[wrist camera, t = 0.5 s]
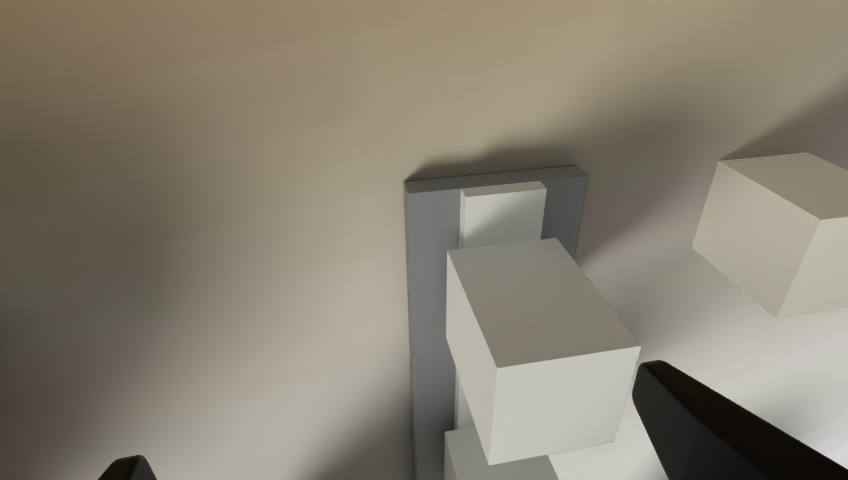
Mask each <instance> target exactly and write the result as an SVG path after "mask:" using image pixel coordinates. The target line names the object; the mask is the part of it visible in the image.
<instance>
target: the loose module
mask: <svg viewBox="0 0 848 480" xmlns="http://www.w3.org/2000/svg"><path fill="white" fill-rule="evenodd" d="M692 248H693V249H694V250H695V251H696V252H698V253H699V254H700V255H701V256H702V257H704V258H705V259H706V260H707V261H708V262H709V263H711V264H712V265H713V266H714V267H715V268H717V269H718V270H719V271H720V272H721V273H723V274H724V275H725V276H726V277H727V278H728V279H730V280H731V281H732V282H733V283H734V284H736V285H737V286H738V287H739V288H740V289H742V290H743V291H744V292H745V293H746V294H747V295H749V296H750V297H751V298H752V299H753V300H755V301H756V302H757V303H758V304H759V305H761V306H762V307H763V308H764V309H765V310H766V311H768V312H769V313H770V314H771V315H772V316H774V317H775V318H776V319H778V318H784V317H791V316H797V315H804V314H810V313H817V312H823V311H830V310H836V309H843V308H848V170H845V169H843V168H841V167H839V166H837V165H835V164H832V163H830V162H828V161H826V160H824V159H821V158H819V157H817V156H815V155H813V154H810V153H808V152H805V153H795V154H785V155H774V156H764V157H754V158H743V159H733V160H723V161H718V164H717V168H716V171H715V174H714V177H713V180H712V184H711V187H710V190H709V193H708V197H707V200H706V203H705V206H704V209H703V213H702V216H701V219H700V222H699V225H698V229H697V232H696V235H695V238H694V241H693V245H692Z"/></svg>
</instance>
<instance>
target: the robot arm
mask: <svg viewBox="0 0 848 480" xmlns="http://www.w3.org/2000/svg"><path fill="white" fill-rule="evenodd" d="M632 398H633V402H634V405H635V407H636V409H637V412H638V414H639V416H640V418H641V420H642V423H643V425H644V427H645V429H646V431H647V434H648V436H649V438H650V440H651V442H652V444H653V447H654V449H655V451H656V453H657V455H658V458H659V460H660V462H661V464H662V466H663V468H664V470H665V472H666V475H667V477H668V479H669V480H848V469H846V468H844V467H843V466H841V465H839V464H838V463H836V462H834V461H833V460H831V459H829V458H828V457H826V456H824V455H822V454H821V453H819V452H817V451H816V450H814V449H812V448H811V447H809V446H807V445H806V444H804V443H802V442H800V441H799V440H797V439H795V438H794V437H792V436H790V435H789V434H787V433H785V432H784V431H782V430H780V429H778V428H777V427H775V426H773V425H772V424H770V423H768V422H767V421H765V420H763V419H762V418H760V417H758V416H756V415H755V414H753V413H751V412H750V411H748V410H746V409H745V408H743V407H741V406H740V405H738V404H736V403H734V402H733V401H731V400H729V399H728V398H726V397H724V396H723V395H721V394H719V393H718V392H716V391H714V390H712V389H711V388H709V387H707V386H706V385H704V384H702V383H701V382H699V381H697V380H696V379H694V378H692V377H690V376H689V375H687V374H685V373H684V372H682V371H680V370H679V369H677V368H675V367H674V366H672V365H670V364H668V363H667V362H665V361H662V360H655V361H649V362H644V363H641V365H640V366H639V367H638V371H637V375H636V379H635V383H634V387H633V391H632ZM98 480H157V479H156V477H155V475H154V473H153V471H152V469H151V467H150V465H149V463H148V462H147V460H146V458H145V457H144V456H142V455H135V456H130V457H124V458H120V459H117V460H115V461H114V462H113V463H112V464H111V465H110V466H109V467H108V468H107V469H106V471H105V472H104V473H103V474H102V475H101V476H100V478H99V479H98Z"/></svg>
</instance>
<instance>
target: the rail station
mask: <svg viewBox="0 0 848 480" xmlns="http://www.w3.org/2000/svg"><path fill="white" fill-rule="evenodd" d="M587 180H588V176H587V175H586V174H585V173H584V172H583V171H582V170H581V169H580V168H579V167H577V166H576V165H575V166H564V167H554V168H543V169H532V170H522V171H511V172H501V173H490V174H479V175H469V176H458V177H447V178H437V179H426V180H416V181H405V182H404V205H405V232H406V259H407V286H408V313H409V340H410V367H411V394H412V421H413V448H414V474H415V480H558V477H557V475H556V473H555V471H554V469H553V466H552V464H551V462H550V460H549V457H548V454H553V453H559V452H564V451H569V450H575V449H580V448H586V447H591V446H596V445H602V444H607V443H613V442H614V441H615V437H616V434H617V430H618V427H619V423H620V420H621V416H622V413H623V409H624V406H625V402H626V399H627V395H628V392H629V388H630V385H631V381H632V378H633V374H634V371H635V367H636V364H637V360H638V357H639V353H640V350H641V344H640V343H639V342H638V341H637V339H636V338H635V337H634V336H633V334H632V333H631V332H630V331H629V329H628V328H627V327H626V325H625V324H624V323H623V322H622V320H621V319H620V318H619V317H618V315H617V314H616V313H615V312H614V310H613V309H612V308H611V306H610V305H609V304H608V303H607V301H606V300H605V299H604V298H603V296H602V295H601V294H600V293H599V291H598V290H597V289H596V287H595V286H594V285H593V284H592V282H591V281H590V280H589V279H588V277H587V276H586V275H585V274H584V272H583V271H582V270H581V269H580V267H579V266H578V265H577V263H576V262H575V261H574V256H575V250H576V245H577V239H578V233H579V227H580V221H581V215H582V210H583V204H584V198H585V192H586V186H587Z"/></svg>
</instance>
